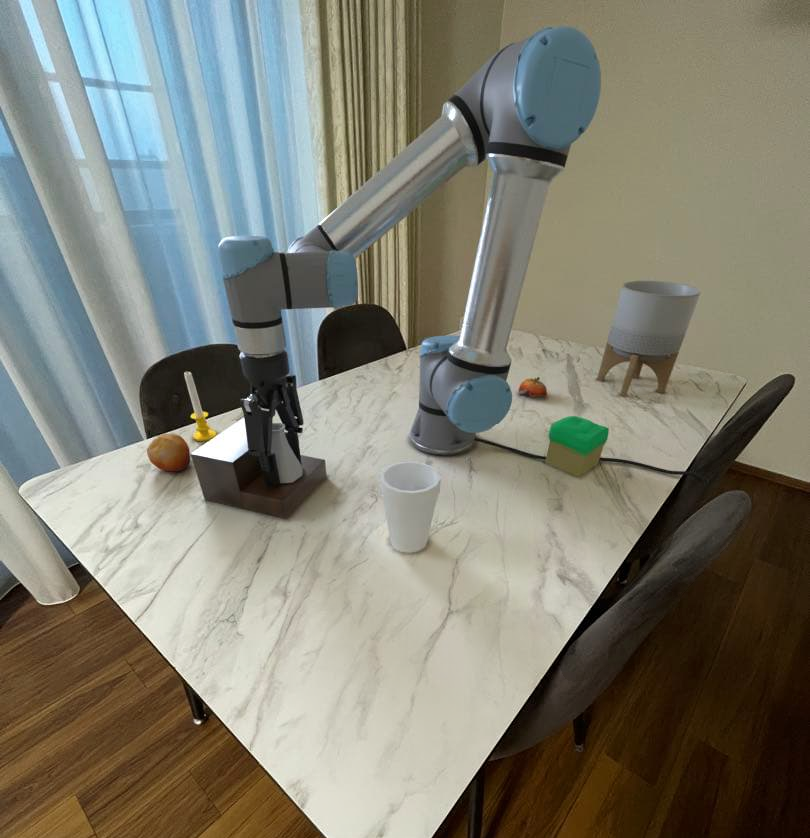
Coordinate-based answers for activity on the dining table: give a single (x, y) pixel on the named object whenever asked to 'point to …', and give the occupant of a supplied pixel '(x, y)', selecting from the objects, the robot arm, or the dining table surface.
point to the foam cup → (409, 503)
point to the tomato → (533, 387)
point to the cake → (575, 444)
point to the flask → (284, 455)
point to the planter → (649, 329)
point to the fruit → (169, 452)
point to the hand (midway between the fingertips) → (284, 473)
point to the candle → (198, 413)
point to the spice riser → (250, 476)
